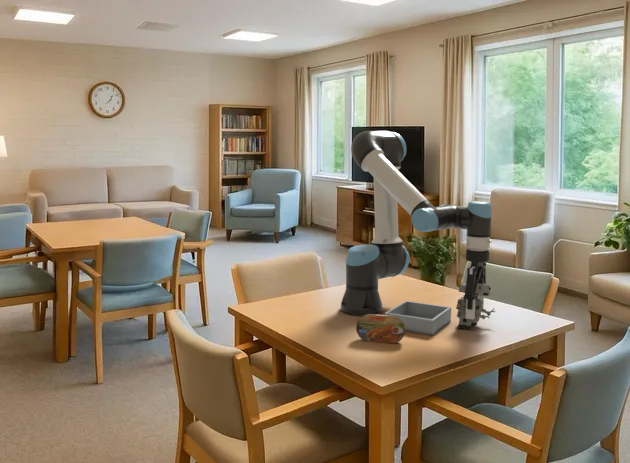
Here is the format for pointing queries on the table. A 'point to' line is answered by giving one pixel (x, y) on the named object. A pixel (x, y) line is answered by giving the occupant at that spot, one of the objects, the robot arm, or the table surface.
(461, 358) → the table surface
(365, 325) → the tin
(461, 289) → the figurine
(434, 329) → the bin
